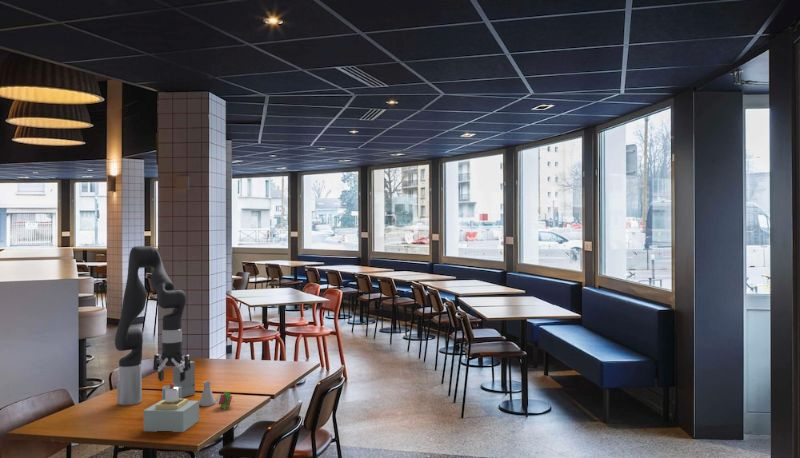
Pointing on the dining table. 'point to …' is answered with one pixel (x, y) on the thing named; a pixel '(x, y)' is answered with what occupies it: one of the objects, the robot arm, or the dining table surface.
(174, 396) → the spout can
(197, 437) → the dining table surface
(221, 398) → the geometric puzzle
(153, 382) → the dining table surface
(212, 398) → the flask
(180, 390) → the cup
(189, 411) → the box with square opening
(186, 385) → the skincare box
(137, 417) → the dining table surface
